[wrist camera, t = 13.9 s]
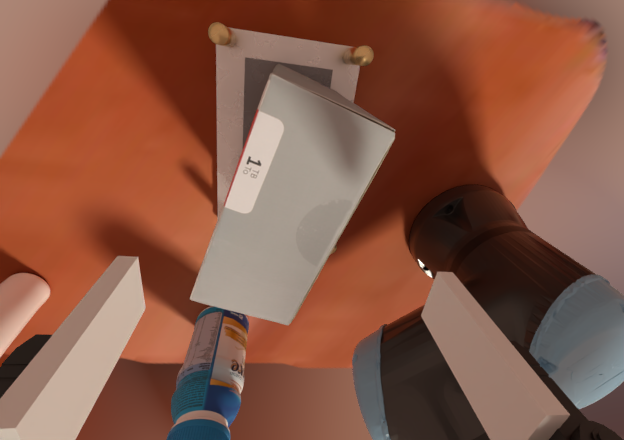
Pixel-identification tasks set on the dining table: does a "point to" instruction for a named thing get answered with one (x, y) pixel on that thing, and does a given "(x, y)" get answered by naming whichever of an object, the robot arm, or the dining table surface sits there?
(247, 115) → the mounting plate
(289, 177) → the hard drive box
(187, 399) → the beverage bottle
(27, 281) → the drinking glass
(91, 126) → the dining table surface
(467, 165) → the dining table surface
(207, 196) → the dining table surface
